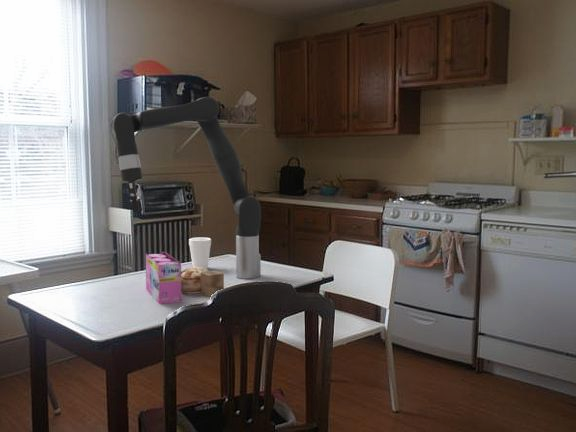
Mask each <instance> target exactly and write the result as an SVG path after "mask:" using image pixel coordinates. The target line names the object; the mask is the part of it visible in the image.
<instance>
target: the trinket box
mask: <svg viewBox="0 0 576 432" xmlns="http://www.w3.org/2000/svg"><path fill="white" fill-rule="evenodd" d="M208 271H209V269H208V268H207V269H205V268H202V267H193V266H192V267H190V268H185V269H184V270H181V293H184V294H198V293H200V294H201V272H208Z"/></svg>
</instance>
